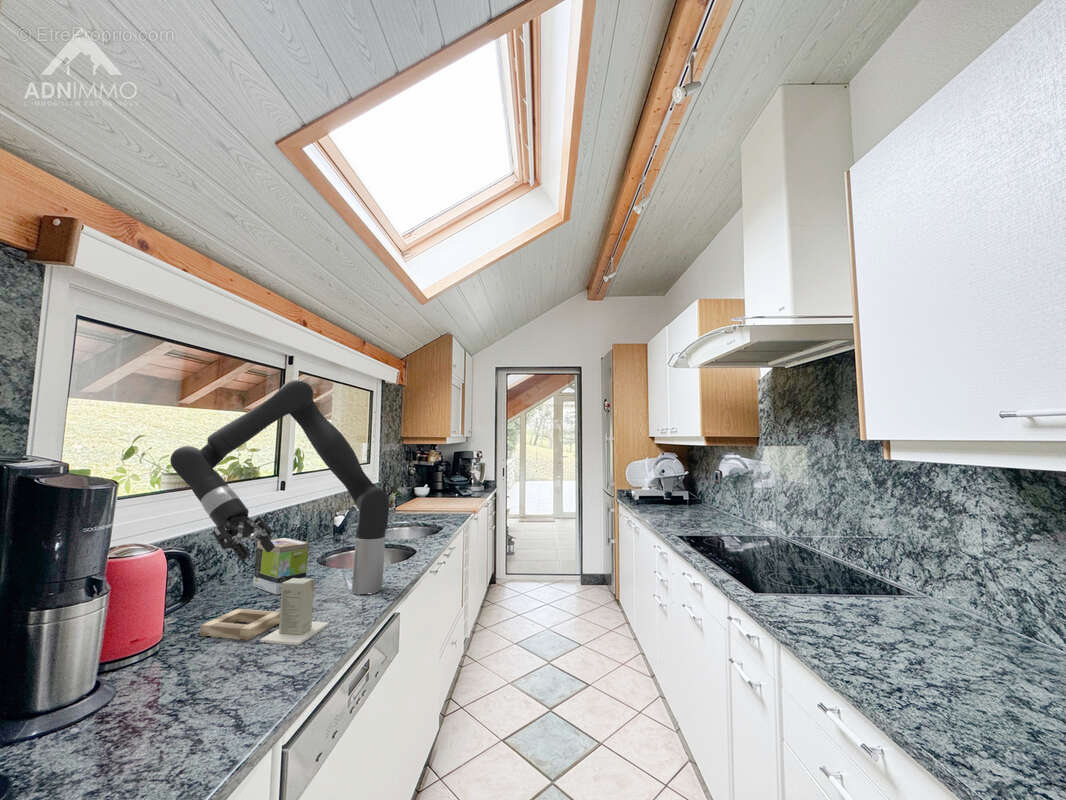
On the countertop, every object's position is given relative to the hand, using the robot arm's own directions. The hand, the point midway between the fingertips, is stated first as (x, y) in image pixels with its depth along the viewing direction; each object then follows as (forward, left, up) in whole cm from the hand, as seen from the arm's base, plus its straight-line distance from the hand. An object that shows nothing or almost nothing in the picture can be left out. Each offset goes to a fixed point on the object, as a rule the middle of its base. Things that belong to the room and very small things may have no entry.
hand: (259, 553), depth 111 cm
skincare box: (0, +12, -18) cm, 22 cm away
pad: (0, +12, -19) cm, 22 cm away
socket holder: (0, -3, -19) cm, 19 cm away
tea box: (-31, -17, -19) cm, 40 cm away
